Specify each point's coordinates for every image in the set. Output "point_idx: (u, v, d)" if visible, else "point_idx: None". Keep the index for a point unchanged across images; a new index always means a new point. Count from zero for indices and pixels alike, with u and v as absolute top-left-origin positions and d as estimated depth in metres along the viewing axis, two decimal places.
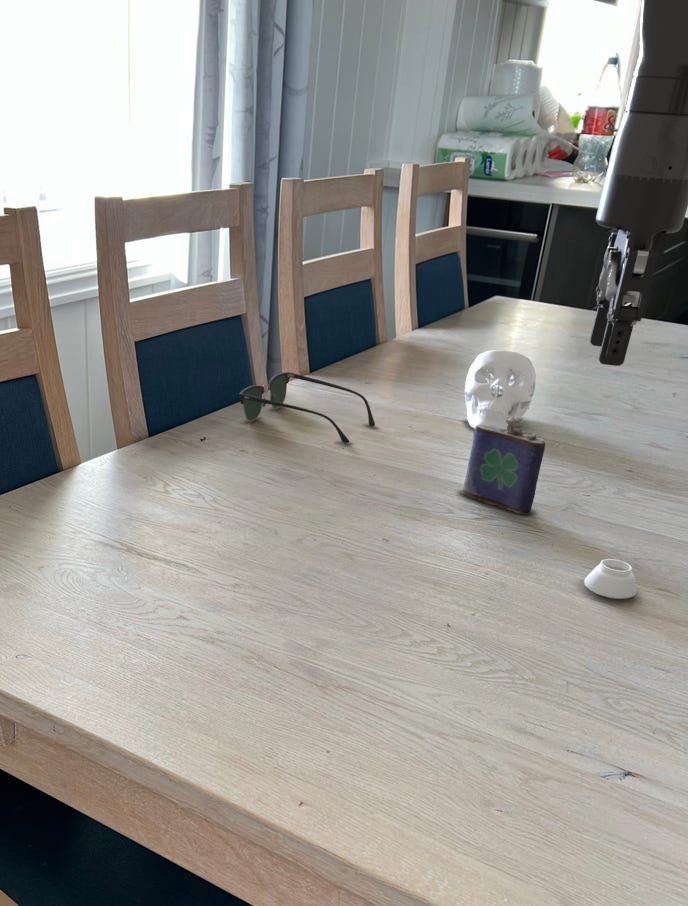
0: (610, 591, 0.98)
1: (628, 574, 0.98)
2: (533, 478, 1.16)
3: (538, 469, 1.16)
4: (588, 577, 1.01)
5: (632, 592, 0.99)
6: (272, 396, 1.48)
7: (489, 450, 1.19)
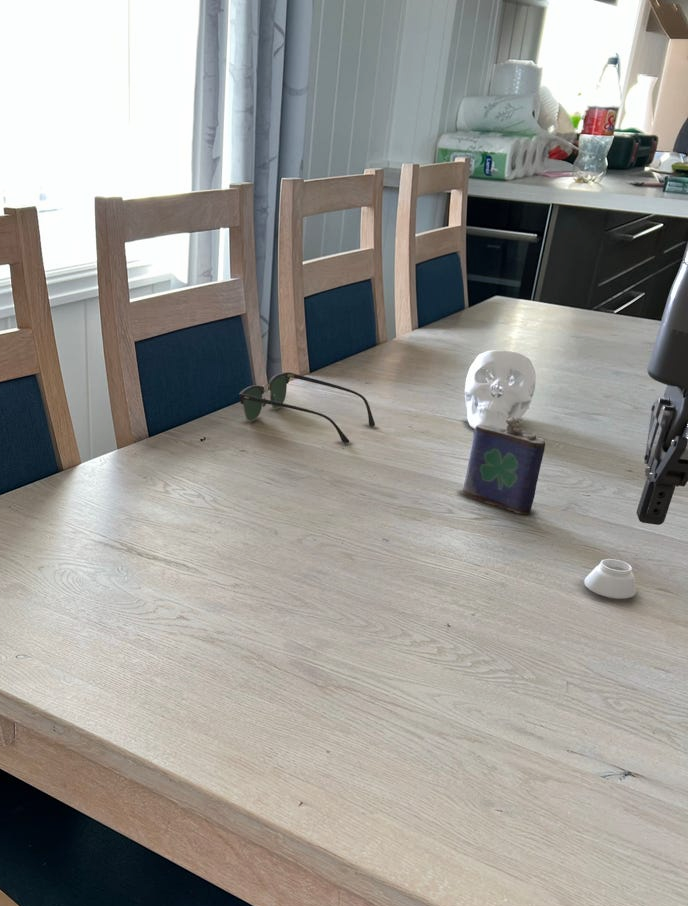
0: (610, 591, 0.98)
1: (628, 574, 0.98)
2: (533, 478, 1.16)
3: (538, 469, 1.16)
4: (588, 577, 1.01)
5: (632, 592, 0.99)
6: (272, 396, 1.48)
7: (489, 450, 1.19)
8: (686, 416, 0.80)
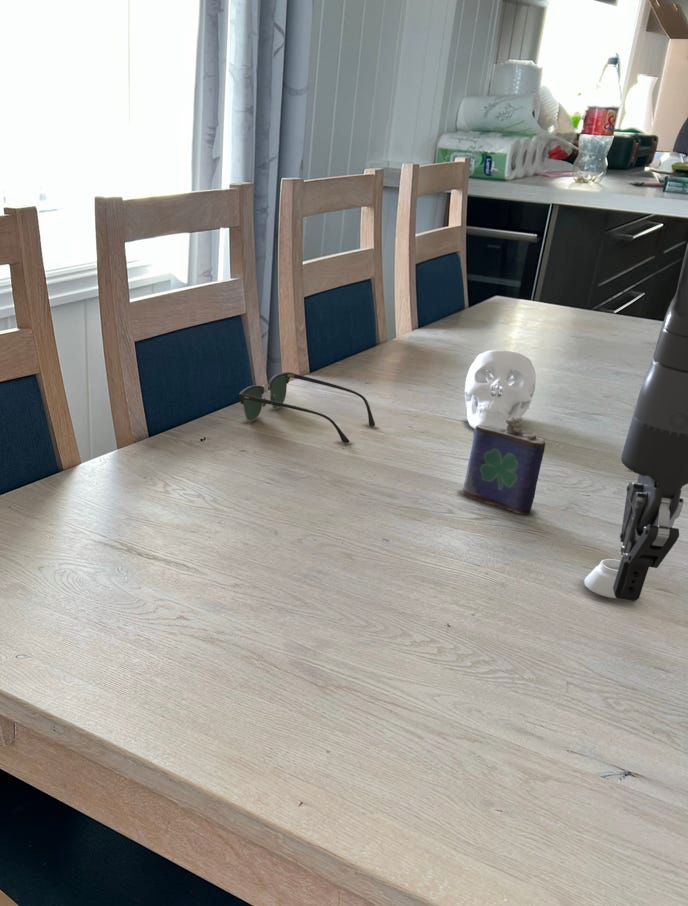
0: (610, 591, 0.98)
1: None
2: (533, 478, 1.16)
3: (538, 469, 1.16)
4: (588, 577, 1.01)
5: None
6: (272, 396, 1.48)
7: (489, 450, 1.19)
8: (657, 505, 0.84)
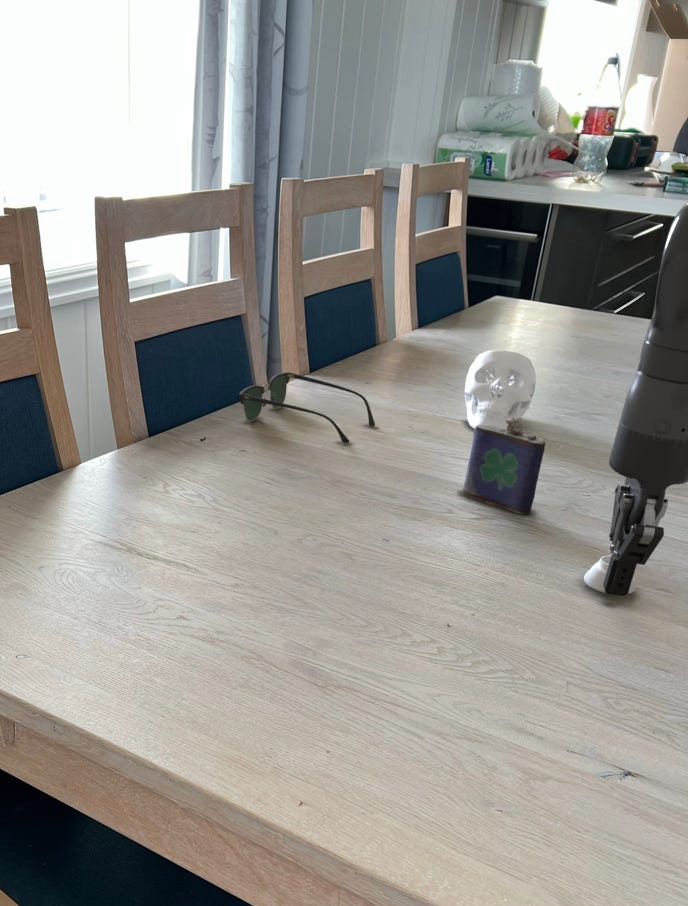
0: None
1: None
2: (533, 478, 1.16)
3: (538, 469, 1.16)
4: (588, 574, 1.01)
5: (631, 588, 0.99)
6: (272, 396, 1.48)
7: (489, 450, 1.19)
8: (643, 505, 0.89)
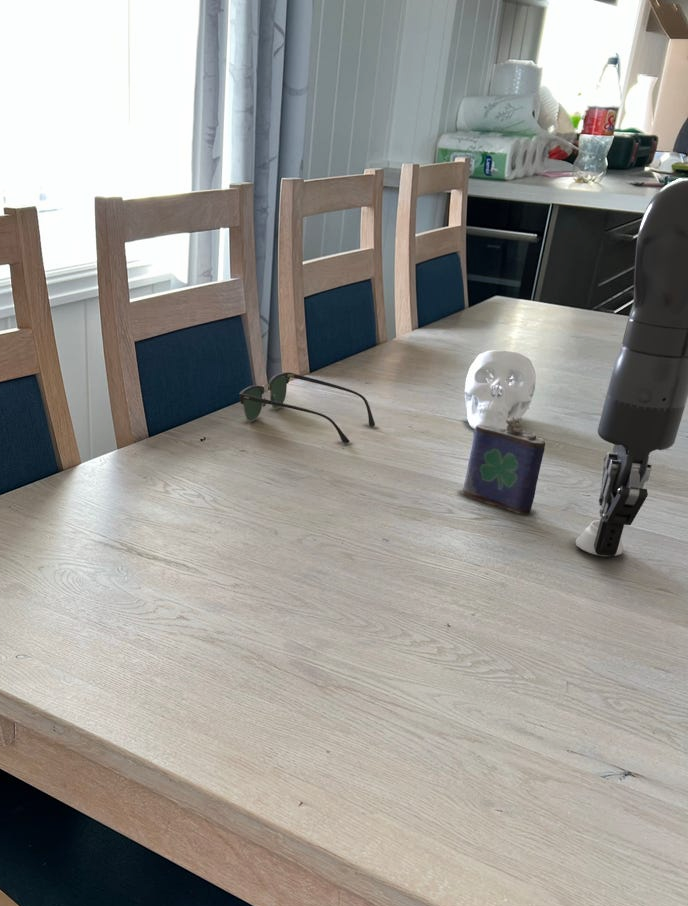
0: None
1: None
2: (533, 478, 1.16)
3: (538, 469, 1.16)
4: (579, 537, 1.10)
5: (619, 550, 1.08)
6: (272, 396, 1.48)
7: (489, 450, 1.19)
8: (628, 469, 0.98)
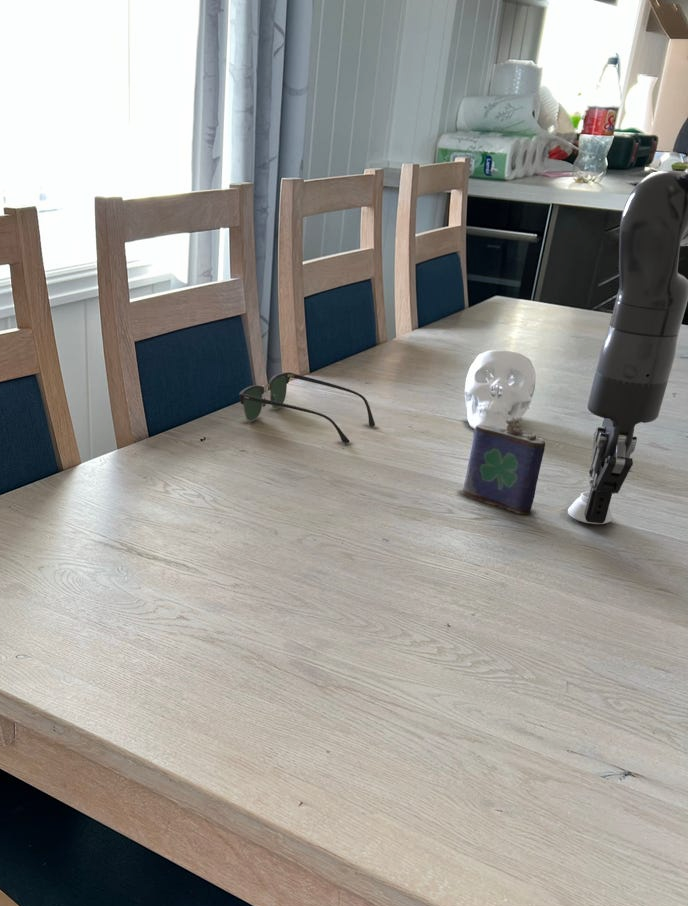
0: None
1: None
2: (533, 478, 1.16)
3: (538, 469, 1.16)
4: (571, 507, 1.18)
5: (608, 518, 1.16)
6: (272, 396, 1.48)
7: (489, 450, 1.19)
8: (615, 440, 1.06)
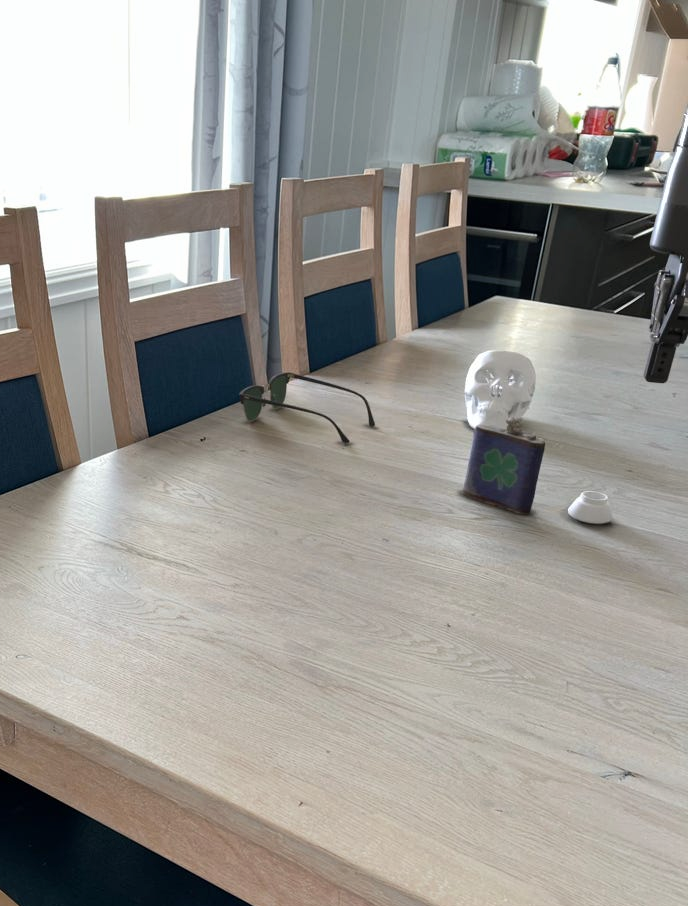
0: (590, 517, 1.16)
1: (605, 502, 1.16)
2: (533, 478, 1.16)
3: (538, 469, 1.16)
4: (571, 506, 1.18)
5: (608, 518, 1.16)
6: (272, 396, 1.48)
7: (489, 450, 1.19)
8: (683, 278, 0.94)
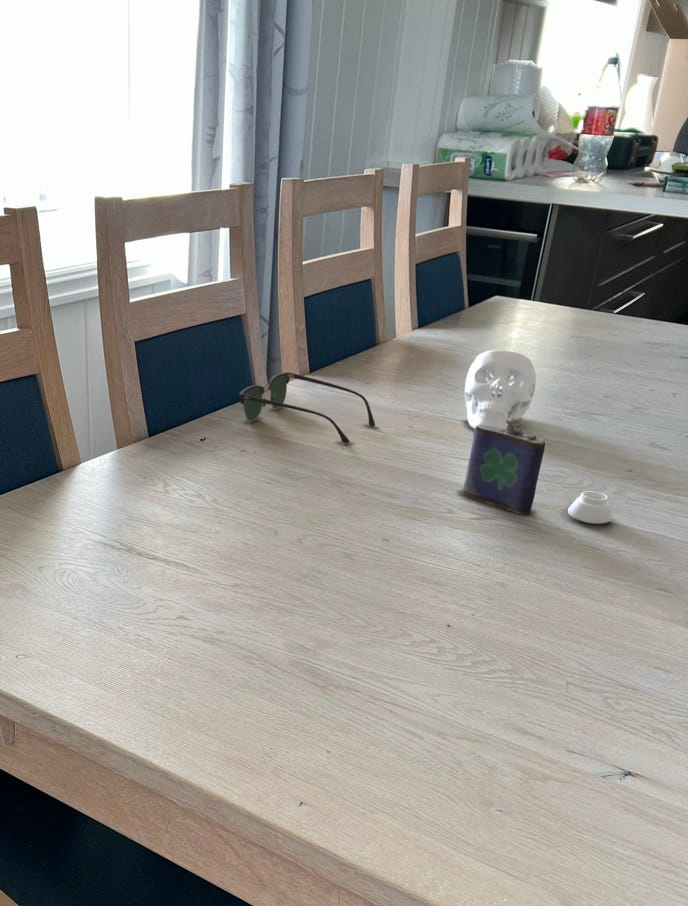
0: (590, 517, 1.16)
1: (605, 502, 1.16)
2: (533, 478, 1.16)
3: (538, 469, 1.16)
4: (571, 506, 1.18)
5: (608, 518, 1.16)
6: (272, 396, 1.48)
7: (489, 450, 1.19)
8: None
